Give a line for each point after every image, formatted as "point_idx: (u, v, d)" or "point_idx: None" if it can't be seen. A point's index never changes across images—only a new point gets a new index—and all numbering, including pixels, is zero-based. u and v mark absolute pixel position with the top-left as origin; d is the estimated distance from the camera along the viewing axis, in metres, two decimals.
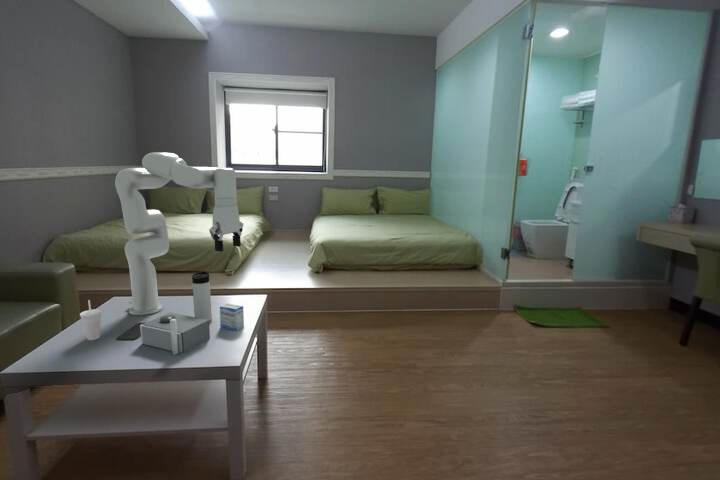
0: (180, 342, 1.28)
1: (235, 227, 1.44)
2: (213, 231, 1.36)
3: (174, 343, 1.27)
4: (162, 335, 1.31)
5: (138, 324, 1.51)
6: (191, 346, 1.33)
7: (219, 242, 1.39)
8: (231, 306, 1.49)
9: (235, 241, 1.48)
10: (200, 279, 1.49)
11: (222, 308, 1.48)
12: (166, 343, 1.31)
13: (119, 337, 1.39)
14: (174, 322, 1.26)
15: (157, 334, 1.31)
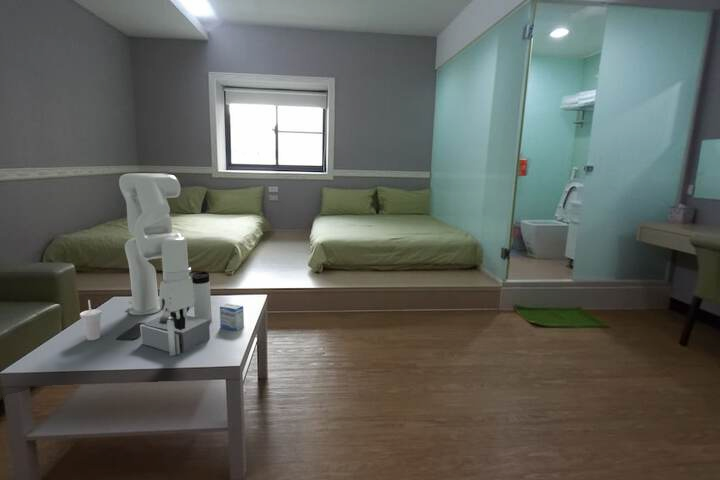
0: (177, 343, 1.27)
1: (187, 302, 1.28)
2: (167, 314, 1.24)
3: (171, 344, 1.26)
4: (160, 336, 1.30)
5: (138, 324, 1.51)
6: (191, 346, 1.33)
7: (178, 320, 1.27)
8: (231, 306, 1.49)
9: None
10: (200, 279, 1.49)
11: (222, 308, 1.48)
12: (164, 344, 1.30)
13: (119, 337, 1.39)
14: (171, 323, 1.25)
15: (156, 335, 1.31)
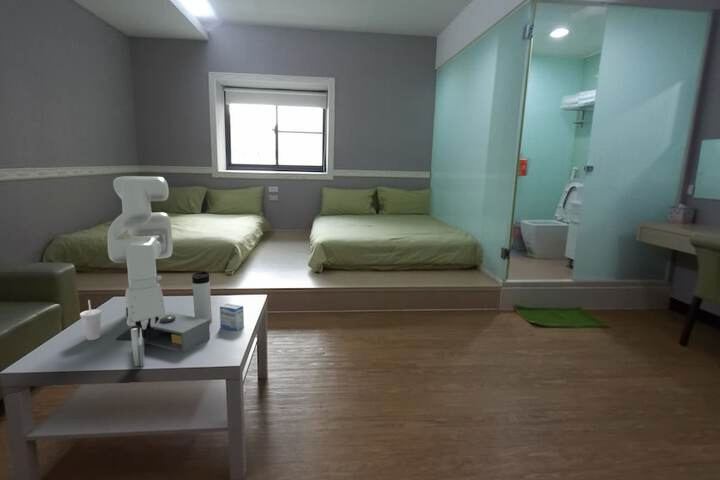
0: (140, 355, 1.20)
1: (154, 311, 1.19)
2: (131, 323, 1.17)
3: (133, 354, 1.19)
4: None
5: None
6: (191, 346, 1.33)
7: (144, 330, 1.19)
8: (231, 306, 1.49)
9: None
10: (200, 279, 1.49)
11: (222, 308, 1.48)
12: None
13: (119, 337, 1.39)
14: (133, 332, 1.18)
15: None
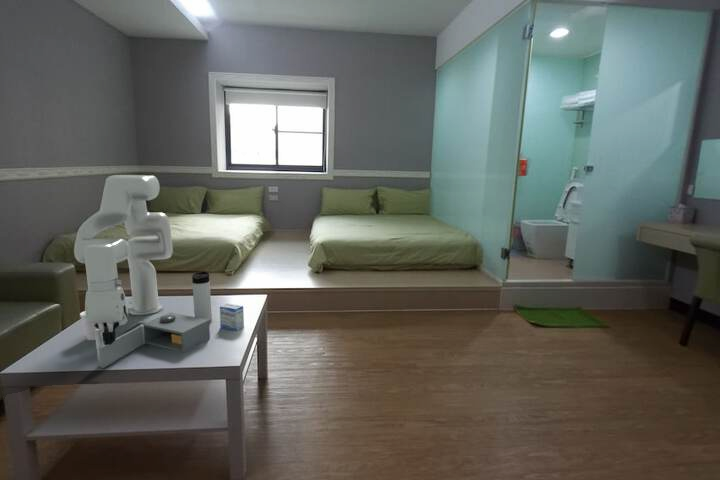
0: (100, 357, 1.18)
1: (110, 317, 1.15)
2: (90, 324, 1.16)
3: (97, 354, 1.19)
4: None
5: (138, 324, 1.51)
6: (191, 346, 1.33)
7: None
8: (231, 306, 1.49)
9: None
10: (200, 279, 1.49)
11: (222, 308, 1.48)
12: None
13: None
14: (95, 332, 1.17)
15: None
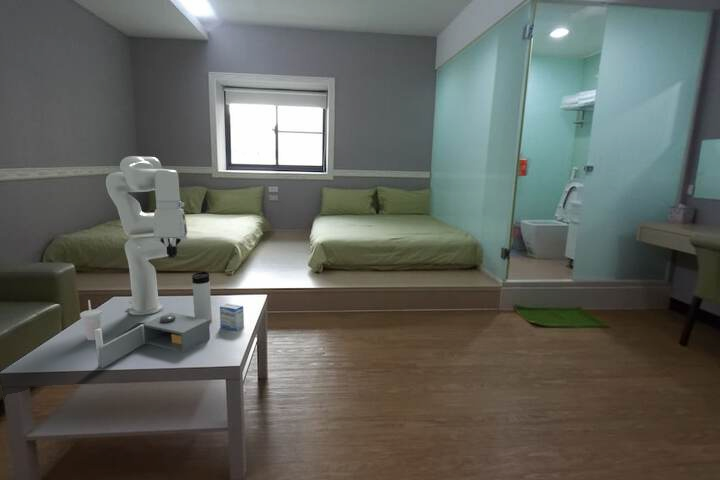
0: (100, 357, 1.18)
1: (174, 232, 1.36)
2: (157, 239, 1.37)
3: (97, 354, 1.19)
4: None
5: (138, 324, 1.51)
6: (191, 346, 1.33)
7: (167, 248, 1.38)
8: (231, 306, 1.49)
9: None
10: (200, 279, 1.49)
11: (222, 308, 1.48)
12: None
13: None
14: (95, 332, 1.17)
15: None
